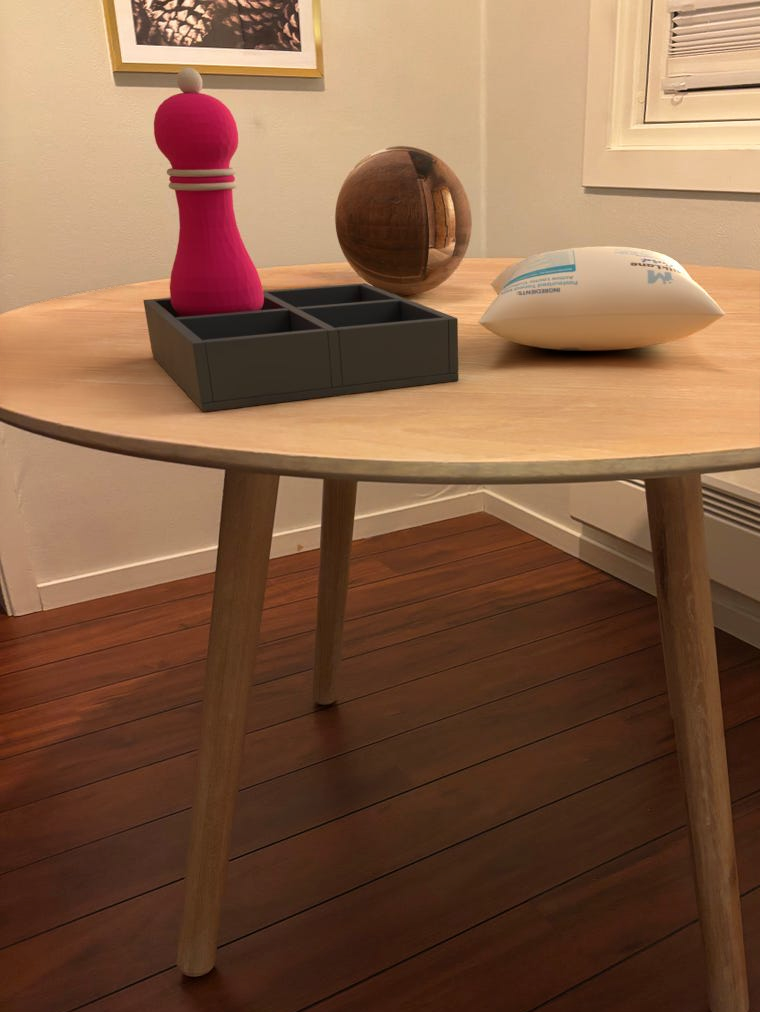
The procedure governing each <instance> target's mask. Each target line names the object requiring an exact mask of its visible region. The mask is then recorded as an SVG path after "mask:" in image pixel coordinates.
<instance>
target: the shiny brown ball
mask: <svg viewBox="0 0 760 1012" xmlns="http://www.w3.org/2000/svg"><path fill="white" fill-rule="evenodd" d="M334 221H335V222H334V223H335V224H334V225H335V232H336V236H337V240H338V244H339V247H340V249H341V252H342V254H343V255H344V258H345V260H346V261H347V263H348V265H349V266H350V267H351V268H352V269H353V271H354V272H355V273H356V274H357V275H358V277H360V278H361V279H362V280H363V281H365V282H366V283H367V284H368V285H371V286H374V287H376V288H379V289H382V290H384V291H387V292H389V293H392V294H395V295H398V296H410V295H411V296H412V295H418V294H422V293H426V292H428V291H431V290H433V289H435V288H436V287H439V286H440V285H442V284H443V283H444V282H446V281H447V280H448V279H449V278H450V277H452V275H453V274H454V273H455V272H456V270H457V269H458V268H459V267H460V265H461V263H462V262H463V260H464V257H465V255H466V254H467V252H468V249H469V245H470V241H471V236H472V221H473V220H472V210H471V205H470V201H469V198H468V195H467V192H466V189H465V188H464V186H463V184H462V182H461V180H460V178H459V177H458V176H457V174H456V173H455V171H454V170H452V168H451V167H450V166H449V165H448V164H446V162H444V161H443V160H442V159H441V158H439V157H438V156H436V155H434V154H433V153H430V152H428V151H426V150H424V149H421V148H418V147H414V146H407V145H406V146H405V145H397V146H389V147H384V148H381V149H378V150H376V151H374V152H372V153H370V154H369V155H367V156H365V157H364V158H363V159H361V160H360V161H359V162H358V163H356V165H355V166H354V167H353V168H352V169H351V170H350V172H349V173H348V175H347V176H346V178H345V180H344V181H343V183H342V184H341V187H340V190H339V193H338V196H337V199H336V204H335V213H334Z"/></svg>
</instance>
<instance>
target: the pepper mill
mask: <svg viewBox="0 0 760 1012" xmlns="http://www.w3.org/2000/svg"><path fill="white" fill-rule="evenodd" d="M176 83H177V85H178V86H177V87H178V89H179V90H180V91H181V92H180V93H176V94H173V95H171V96H169V97H167V98H166V99H164V100H163V101H162V102H161V103H160V105H158V107H157V109H156V112H155V114H154V119H153V135H154V140H155V144H156V146H157V148H158V150H159V151H160V152H161V154H162V155H163V156H164V157H165V158H166V159H167V160H168V162H169V164H170V165H171V167H170V168H167V170H166V174H167V175H168V176H169V179H168V180H169V183H168V187H169V189H171V190H174V192H175V198H176V203H177V207H178V220H179V222H178V223H179V229H178V230H179V232H178V241H177V247H176V253H175V256H174V260H173V265H172V268H171V273H170V279H169V280H170V281H169V298H171V304H172V307H173V308H174V310H175V311H176V312H177V314H178V315H179V316H180V317H187V316H199V315H211V314H223V313H235V312H247V311H258V310H261V309H262V306H263V303H264V295H263V291H264V289H263V284H262V281H261V278H260V275H259V273H258V270H257V268H256V266H255V264H254V261H253V260H252V258H251V256H250V255H249V251H248V250H247V248H246V245H245V243H244V242H243V238H242V236H241V234H240V231H239V228H238V225H237V219H236V213H235V209H234V197H233V195H234V194H233V190H234V189H236V188H237V187H238V183H237V182H236V177H235V174H236V169H235V168H234V167H230V164H231V160H232V158H233V157H234V155H235V154H236V152H237V150H238V147H239V131H238V127H237V122H236V119H235V118H234V115H233V114H232V112H231V110H230V108H228V107H227V105H226V104H225V103H223V102H222V101H221V100H220V99H218V98H216V97H214V96H212V95H210V94H206V93H202V92H201V91H202V89H203V78H202V76H201V74H200V73H199V72H198V71H197V69H194V68H192V67H183V68H181V69H180V70H179V71H178V73H177V75H176Z"/></svg>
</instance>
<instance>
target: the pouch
mask: <svg viewBox="0 0 760 1012" xmlns="http://www.w3.org/2000/svg"><path fill="white" fill-rule="evenodd" d="M490 286H491V287H492V289H493V290H494V292H495V293H496V295H497V296H496V297H495V298H494V300H493V301H492V302H491V304H490V305H489V306H488V308H487V309H486V310H485V312H484V313H483V315H481V317H480V319H479V320H478V322H477V323H478V324H480V325H481V326H483V327H484V328H485V329H486V330H488V331H489V332H491V333H492V334H494V335H496V336H497V337H500V338H502V339H504V340H507V341H510V342H513V343H516V344H520V345H524V346H529V347H534V348H540V349H546V350H555V351H573V352H574V351H577V352H578V351H579V352H581V351H582V352H584V351H587V352H588V351H589V352H590V351H595V352H596V351H597V352H598V351H615V350H619V351H620V350H629V349H638V348H645V347H652V346H656V345H661V344H665V343H666V344H667V343H669V342H674V341H678V340H680V339H684V338H686V337H689V336H692V335H694V334H696V333H698V332H701V331H702V330H704V329H706V328H707V327H709V326H711V325H712V324H714V323H716V322H717V321H718V320H720V319H722V317H724V316H726V313H725V312H724V310H723V309H721V307H720V306H719V305H718V303H717V302H716V301H715V300H714V299H713V298H712V297H711V296H710V294H709V293H707V292H706V290H704V288H703V287H702V286H700V285H699V284H698V283H697V282H696V281H695V280H693V278H691V276H690V275H689V273H688V272H687V271H686V270H685V269H684V267H683V266H682V265H681V264H680V263H678V262H677V260H674V259H673V258H672V257H670V256H668V255H666V254H663V253H660V252H658V251H654V250H649V249H644V248H638V247H629V246H612V245H611V246H607V245H606V246H582V247H571V248H563V249H556V250H549V251H545V252H541V253H536V254H533V255H530V256H528V257H525V258H523V259H521V260H518V261H516V262H514V263H513V264H511V265H510V266H508V267H506V268H505V269H503V270H502V271H501V272H500V273H499V274H498V275H497V276H496V277H495V279H493V280H492V282H491V283H490Z"/></svg>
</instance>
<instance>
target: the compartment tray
mask: <svg viewBox="0 0 760 1012" xmlns="http://www.w3.org/2000/svg"><path fill="white" fill-rule="evenodd" d="M263 295H264V303H263V306H262V309H261V310H258V311H247V312H235V313H223V314H211V315H199V316H187V317H180V316H179V315H178V314H177V312H176V311H175V310H174V308H173V307H172V304H171V298H170V297H164V298H149V299H143V306H144V312H145V319H146V324H147V331H148V336H149V343H150V349H151V354H152V355H151V356H152V357H153V359H154V360H155V361H156V362H157V363H158V364H159V365H160V367H162V369H163V370H164V371H165V372H166V373H167V374H168V375H169V376H170V377H171V379H173V380H174V382H175V384H177V386H179V387H180V388H181V389H182V391H183V392H184V393H185V394H186V395H187V396H188V397H189V398H190V399H191V401H193V403H194V404H195V405H196V406H197V408H198V409H199V410H201V412H203V413H206V412H215V411H221V410H222V411H223V410H231V409H239V408H245V407H247V408H249V407H255V406H262V405H272V404H280V403H288V402H295V401H303V400H311V399H312V400H313V399H319V398H327V397H328V398H329V397H337V396H343V395H353V394H359V393H360V394H361V393H370V392H377V391H385V390H392V389H393V390H394V389H400V388H409V387H417V386H425V385H426V386H427V385H434V384H442V383H449V382H457V381H459V380H460V379H459V378H460V377H459V322H458V321H459V319H458V318H457V317H456V316H453V315H450V314H447V313H445V312H442V311H439V310H436V309H434V308H431V307H429V306H427V305H423V304H421V303H418V302H416V301H413V300H411V299H408V298H405V297H402V296H401V295H398V294H392V293H389V292H387V291H384V290H382V289H379V288H376V287H374V286H372V285H371V284H369V283H367V282H366V283H365V282H363V283H349V284H335V285H322V286H307V287H296V288H295V287H293V288H281V289H280V288H279V289H267V290H263Z"/></svg>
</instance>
